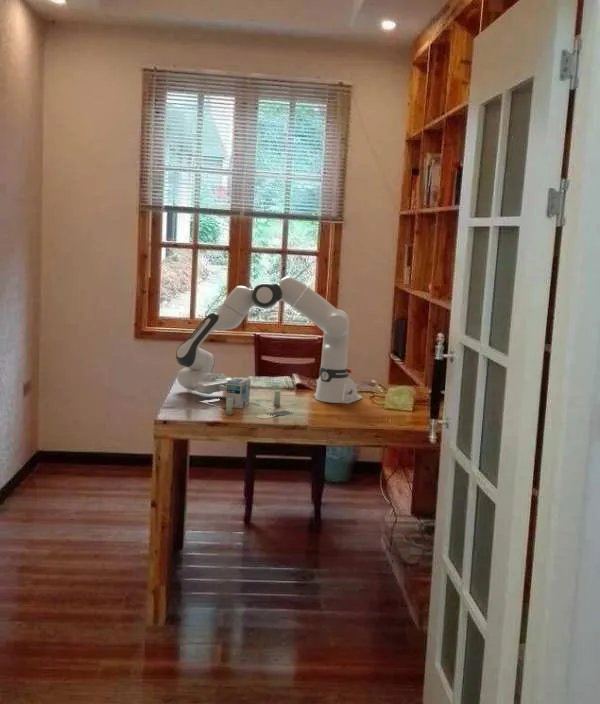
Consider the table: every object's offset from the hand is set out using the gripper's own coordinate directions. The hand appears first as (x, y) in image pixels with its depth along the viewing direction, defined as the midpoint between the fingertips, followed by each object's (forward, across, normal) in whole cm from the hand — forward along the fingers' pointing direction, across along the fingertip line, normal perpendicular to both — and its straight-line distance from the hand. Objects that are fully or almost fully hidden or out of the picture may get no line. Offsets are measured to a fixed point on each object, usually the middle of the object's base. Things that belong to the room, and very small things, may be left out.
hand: (230, 388), depth 326 cm
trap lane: (+8, 0, +6) cm, 10 cm away
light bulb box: (+4, 0, +6) cm, 8 cm away
